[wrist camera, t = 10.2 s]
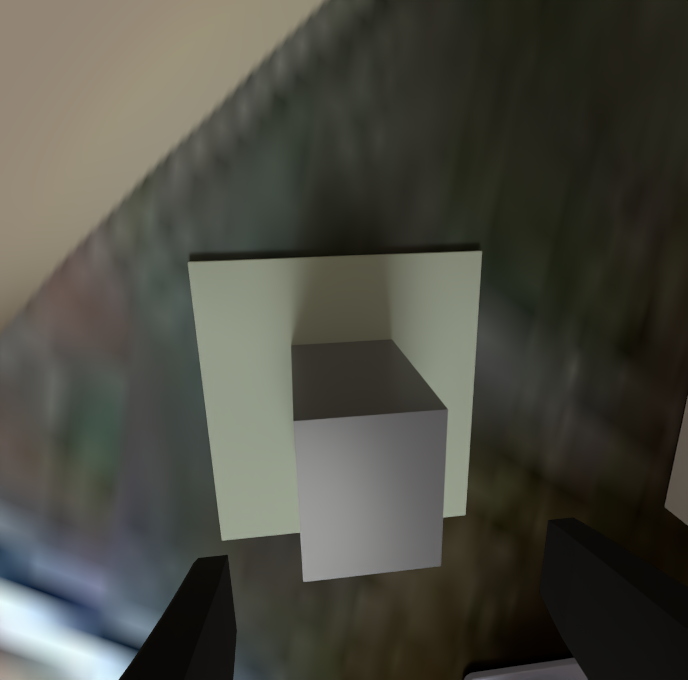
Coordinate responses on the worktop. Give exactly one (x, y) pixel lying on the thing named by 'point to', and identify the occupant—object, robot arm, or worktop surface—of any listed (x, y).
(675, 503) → the white flat block
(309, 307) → the rubber mat
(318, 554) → the block
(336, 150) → the worktop surface
